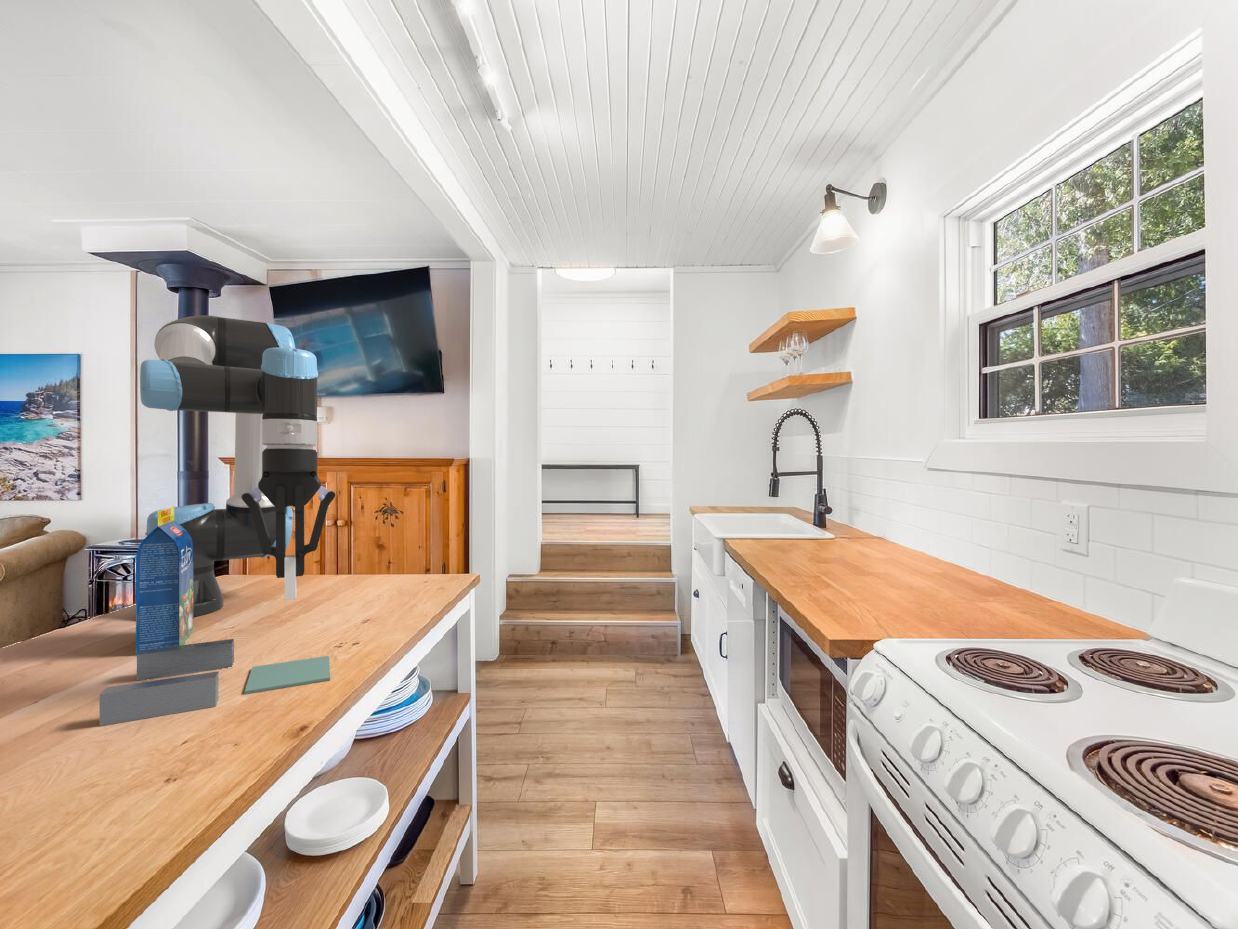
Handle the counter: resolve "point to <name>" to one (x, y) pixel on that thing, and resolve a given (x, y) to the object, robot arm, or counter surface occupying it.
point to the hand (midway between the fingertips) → (290, 597)
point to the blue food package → (164, 585)
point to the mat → (288, 674)
